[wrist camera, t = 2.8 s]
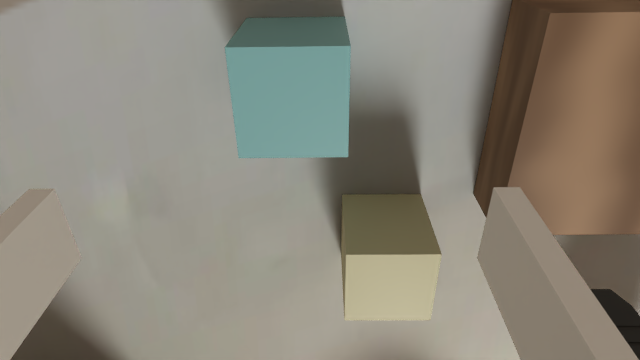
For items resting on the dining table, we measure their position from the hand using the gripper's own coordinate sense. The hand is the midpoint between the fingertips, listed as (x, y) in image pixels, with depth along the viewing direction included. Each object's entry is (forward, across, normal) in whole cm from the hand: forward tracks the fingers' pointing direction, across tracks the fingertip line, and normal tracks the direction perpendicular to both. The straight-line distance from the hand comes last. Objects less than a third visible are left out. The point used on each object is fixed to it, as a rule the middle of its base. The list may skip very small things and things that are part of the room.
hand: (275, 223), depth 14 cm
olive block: (+17, +6, -13) cm, 22 cm away
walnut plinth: (+17, +20, -3) cm, 26 cm away
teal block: (+17, 0, 0) cm, 17 cm away
